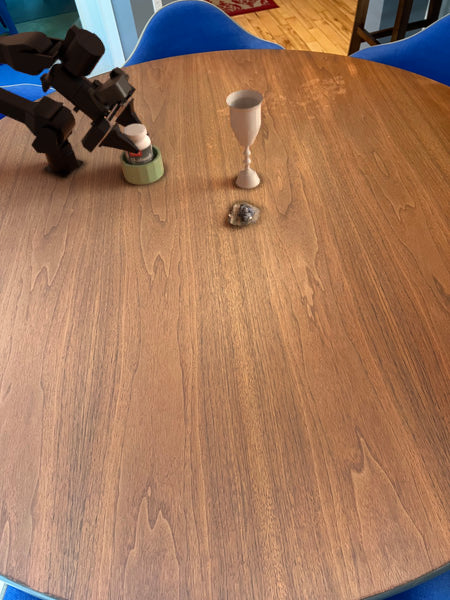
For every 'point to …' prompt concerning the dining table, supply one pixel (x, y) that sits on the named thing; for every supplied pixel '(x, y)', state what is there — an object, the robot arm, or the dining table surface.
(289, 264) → the dining table surface
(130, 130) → the pill bottle
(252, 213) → the grey flat irregular piece
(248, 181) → the chalice
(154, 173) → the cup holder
